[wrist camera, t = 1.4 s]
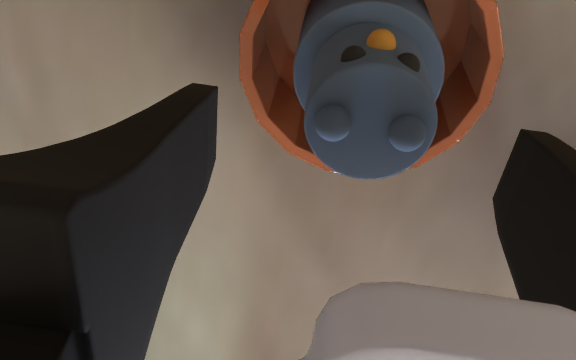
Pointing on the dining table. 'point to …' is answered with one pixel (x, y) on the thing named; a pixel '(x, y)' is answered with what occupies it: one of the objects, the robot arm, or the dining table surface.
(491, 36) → the orange bowl
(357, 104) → the owl
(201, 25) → the dining table surface
